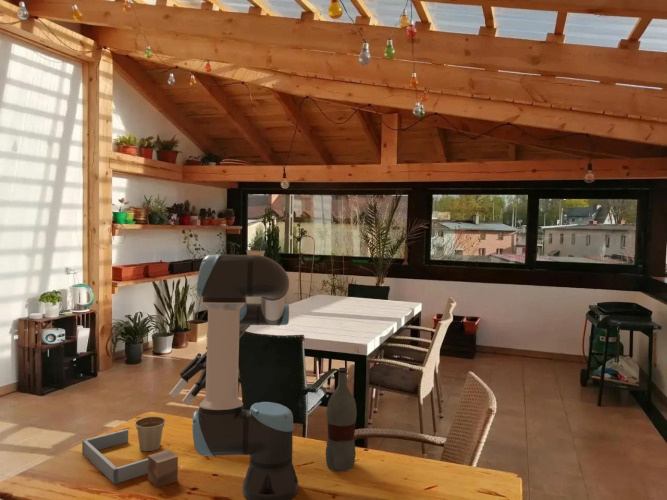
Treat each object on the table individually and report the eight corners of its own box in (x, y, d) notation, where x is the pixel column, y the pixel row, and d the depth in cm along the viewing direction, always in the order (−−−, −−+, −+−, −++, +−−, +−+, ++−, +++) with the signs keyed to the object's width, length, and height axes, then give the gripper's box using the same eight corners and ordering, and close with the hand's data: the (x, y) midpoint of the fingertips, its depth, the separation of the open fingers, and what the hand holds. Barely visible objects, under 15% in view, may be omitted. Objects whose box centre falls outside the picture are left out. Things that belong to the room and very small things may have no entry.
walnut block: (177, 481, 145) (177, 456, 145) (157, 488, 141) (157, 463, 141) (167, 473, 149) (168, 449, 149) (147, 479, 145) (148, 455, 145)
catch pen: (162, 468, 152) (162, 455, 152) (114, 484, 142) (114, 470, 142) (126, 440, 171) (127, 429, 171) (82, 452, 161) (82, 440, 161)
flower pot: (170, 442, 170) (170, 417, 170) (157, 455, 161) (158, 428, 160) (143, 440, 171) (143, 415, 171) (129, 453, 162) (129, 426, 161)
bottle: (339, 456, 164) (342, 362, 162) (361, 465, 157) (364, 368, 156) (318, 465, 157) (321, 368, 156) (340, 475, 150) (343, 374, 149)
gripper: (243, 357, 177) (201, 414, 166) (211, 346, 192) (171, 397, 182) (230, 344, 173) (186, 401, 162) (199, 334, 188) (156, 385, 178)
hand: (178, 399), depth 172 cm, fingers open, 8 cm apart
